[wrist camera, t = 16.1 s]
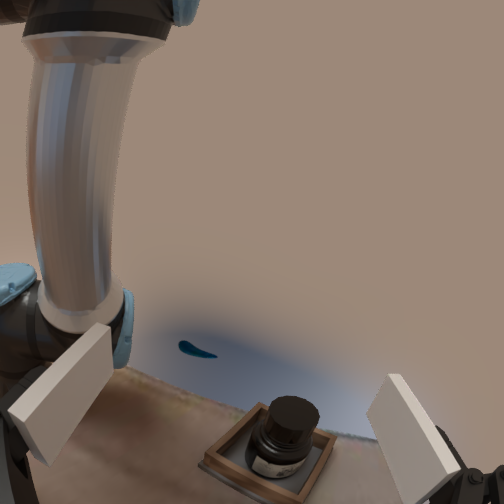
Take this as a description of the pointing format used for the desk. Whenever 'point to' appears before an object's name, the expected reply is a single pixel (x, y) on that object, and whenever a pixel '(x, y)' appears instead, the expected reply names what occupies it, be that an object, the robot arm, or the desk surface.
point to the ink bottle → (282, 438)
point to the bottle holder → (248, 483)
